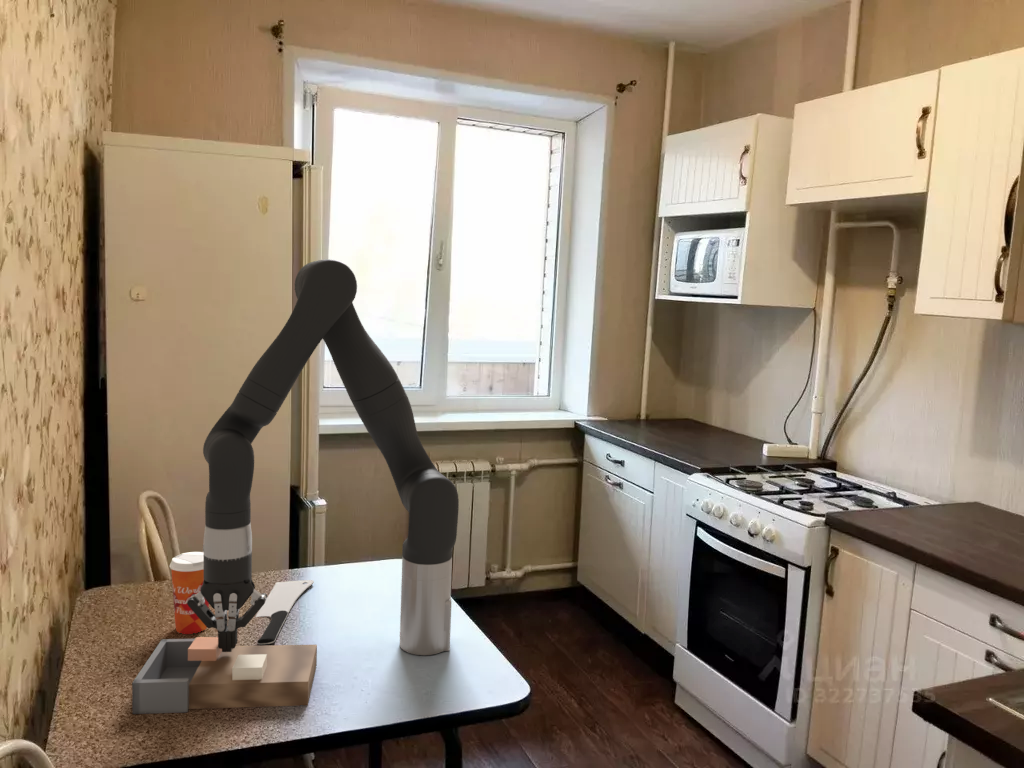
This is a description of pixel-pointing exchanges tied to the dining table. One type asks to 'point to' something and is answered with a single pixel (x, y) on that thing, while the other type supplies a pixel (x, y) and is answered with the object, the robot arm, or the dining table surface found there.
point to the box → (165, 679)
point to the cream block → (249, 667)
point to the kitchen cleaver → (280, 607)
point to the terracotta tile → (204, 649)
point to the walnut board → (278, 687)
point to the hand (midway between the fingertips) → (227, 649)
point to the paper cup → (187, 590)
